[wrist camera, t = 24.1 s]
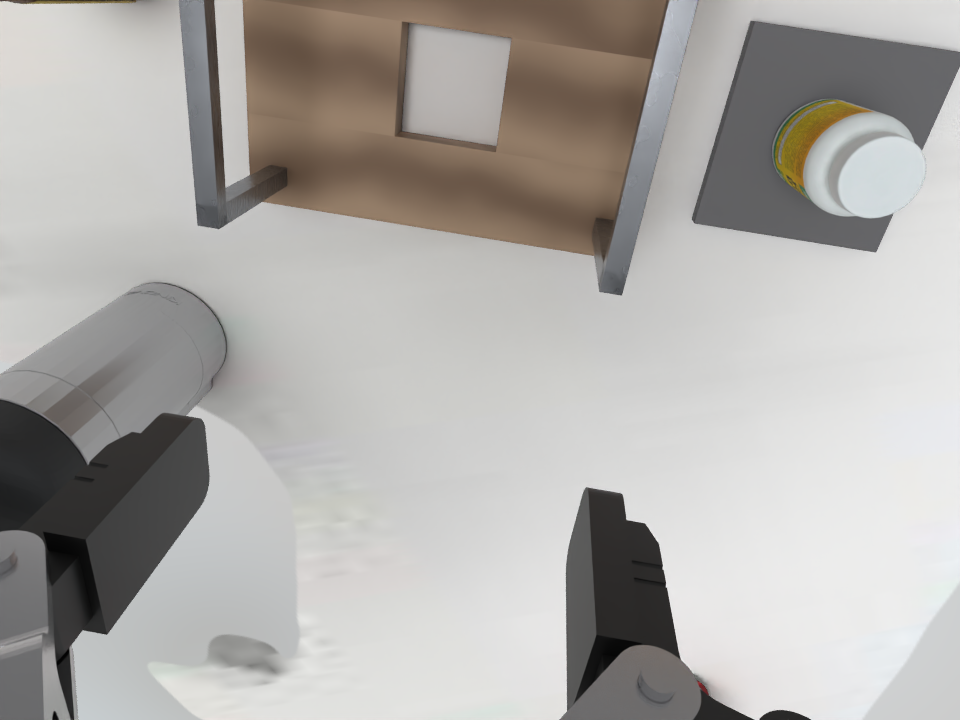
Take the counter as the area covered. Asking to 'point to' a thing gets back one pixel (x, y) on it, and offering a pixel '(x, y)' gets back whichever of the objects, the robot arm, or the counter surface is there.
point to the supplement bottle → (849, 159)
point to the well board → (439, 161)
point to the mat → (785, 88)
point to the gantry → (231, 202)
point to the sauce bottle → (68, 1)
